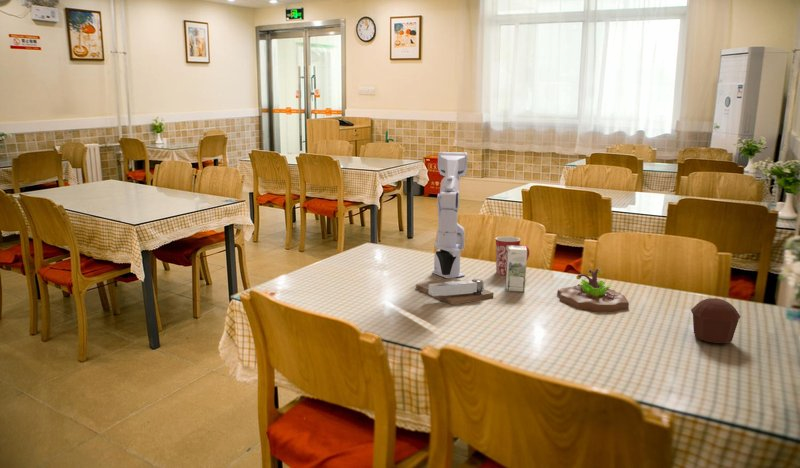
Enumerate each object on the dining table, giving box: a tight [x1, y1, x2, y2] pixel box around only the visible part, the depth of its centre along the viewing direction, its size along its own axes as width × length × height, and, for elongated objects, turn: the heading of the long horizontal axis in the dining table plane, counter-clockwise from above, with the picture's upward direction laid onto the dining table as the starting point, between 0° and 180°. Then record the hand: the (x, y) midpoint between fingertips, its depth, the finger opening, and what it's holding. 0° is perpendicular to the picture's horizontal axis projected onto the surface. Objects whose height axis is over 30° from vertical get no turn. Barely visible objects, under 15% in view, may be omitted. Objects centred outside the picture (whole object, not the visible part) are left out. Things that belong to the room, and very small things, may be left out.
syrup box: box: [505, 245, 528, 293], centre depth 191 cm, size 6×6×14 cm
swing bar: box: [427, 278, 485, 297], centre depth 179 cm, size 18×4×3 cm, turn 111°
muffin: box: [690, 297, 742, 344], centre depth 151 cm, size 12×11×10 cm
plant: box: [556, 267, 630, 313], centre depth 180 cm, size 20×20×11 cm
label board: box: [415, 277, 494, 306], centre depth 187 cm, size 20×16×2 cm
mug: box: [495, 236, 530, 277], centre depth 208 cm, size 13×9×14 cm
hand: (445, 274), depth 179 cm, fingers closed
